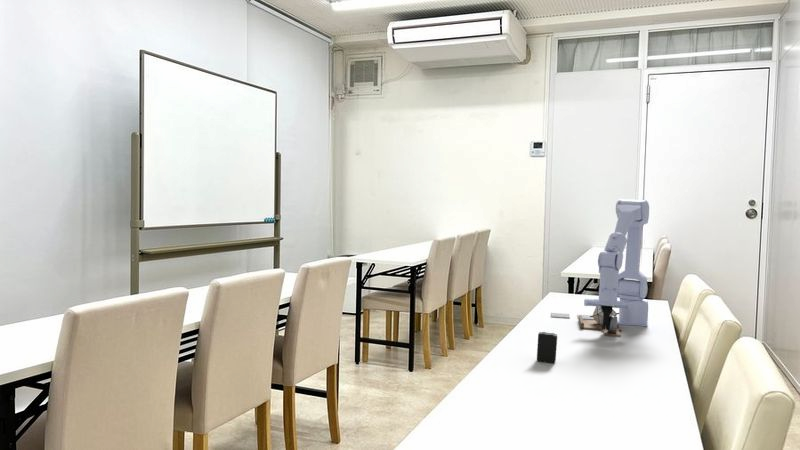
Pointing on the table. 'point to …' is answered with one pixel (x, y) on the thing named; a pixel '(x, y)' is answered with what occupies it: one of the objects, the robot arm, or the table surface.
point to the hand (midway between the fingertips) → (606, 329)
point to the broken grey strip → (560, 315)
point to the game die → (601, 315)
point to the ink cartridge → (546, 347)
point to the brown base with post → (593, 325)
